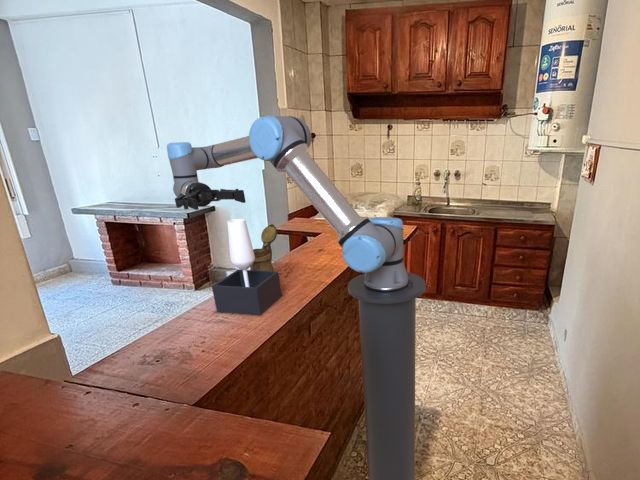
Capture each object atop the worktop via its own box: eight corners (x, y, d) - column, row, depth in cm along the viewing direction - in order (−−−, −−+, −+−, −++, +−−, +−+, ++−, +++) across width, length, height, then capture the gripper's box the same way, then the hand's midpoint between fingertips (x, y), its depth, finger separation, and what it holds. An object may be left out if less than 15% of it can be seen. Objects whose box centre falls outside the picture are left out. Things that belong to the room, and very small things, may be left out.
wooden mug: (290, 274, 140) (283, 224, 134) (266, 288, 129) (258, 234, 122) (269, 272, 144) (262, 223, 137) (244, 285, 132) (235, 232, 125)
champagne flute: (248, 306, 114) (234, 224, 104) (233, 302, 117) (218, 221, 108) (266, 298, 119) (254, 219, 110) (251, 294, 122) (238, 217, 113)
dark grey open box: (281, 295, 123) (278, 271, 120) (260, 315, 111) (256, 288, 108) (241, 293, 126) (237, 269, 123) (216, 311, 113) (211, 286, 110)
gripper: (236, 200, 138) (263, 207, 123) (158, 211, 123) (177, 221, 108) (233, 177, 135) (259, 183, 120) (152, 186, 120) (171, 193, 105)
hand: (220, 201), depth 114 cm, fingers open, 13 cm apart
